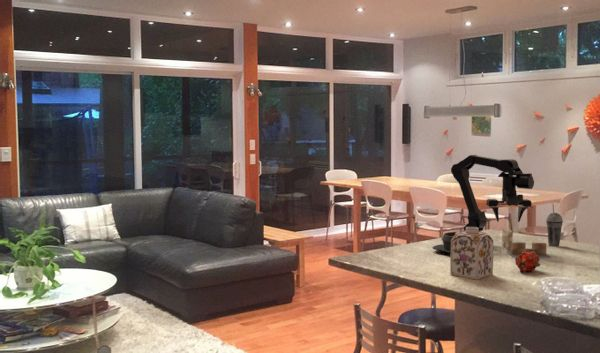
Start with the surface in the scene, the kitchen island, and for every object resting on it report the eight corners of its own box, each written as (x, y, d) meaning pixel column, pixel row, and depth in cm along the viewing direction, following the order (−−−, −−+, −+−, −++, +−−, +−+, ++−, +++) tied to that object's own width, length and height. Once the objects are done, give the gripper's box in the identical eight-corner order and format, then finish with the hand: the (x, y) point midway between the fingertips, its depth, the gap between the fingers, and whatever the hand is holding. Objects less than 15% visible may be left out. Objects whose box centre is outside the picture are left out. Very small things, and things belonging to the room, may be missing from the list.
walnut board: (512, 254, 268) (512, 243, 268) (511, 253, 270) (511, 242, 270) (546, 255, 267) (546, 243, 266) (544, 254, 269) (545, 242, 268)
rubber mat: (512, 258, 263) (512, 257, 263) (506, 252, 276) (506, 251, 276) (552, 259, 261) (552, 258, 261) (543, 253, 274) (543, 251, 274)
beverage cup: (565, 247, 287) (567, 203, 286) (553, 248, 285) (554, 204, 283) (554, 244, 294) (555, 202, 292) (541, 245, 291) (542, 202, 290)
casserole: (426, 254, 273) (426, 235, 273) (440, 247, 289) (441, 229, 288) (483, 260, 260) (483, 240, 259) (495, 252, 275) (495, 233, 275)
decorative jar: (449, 275, 234) (449, 227, 233) (465, 270, 242) (466, 224, 241) (478, 280, 226) (478, 231, 224) (494, 275, 234) (495, 227, 232)
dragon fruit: (535, 272, 244) (523, 282, 236) (518, 257, 248) (505, 267, 239) (548, 257, 240) (535, 267, 231) (529, 242, 243) (517, 251, 235)
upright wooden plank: (507, 251, 277) (508, 231, 276) (501, 246, 289) (502, 227, 288) (512, 251, 277) (512, 231, 276) (506, 246, 289) (506, 227, 288)
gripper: (492, 189, 274) (491, 224, 275) (535, 189, 272) (534, 224, 273) (486, 186, 285) (485, 220, 286) (528, 186, 283) (527, 221, 285)
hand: (508, 221), depth 282 cm, fingers open, 9 cm apart
